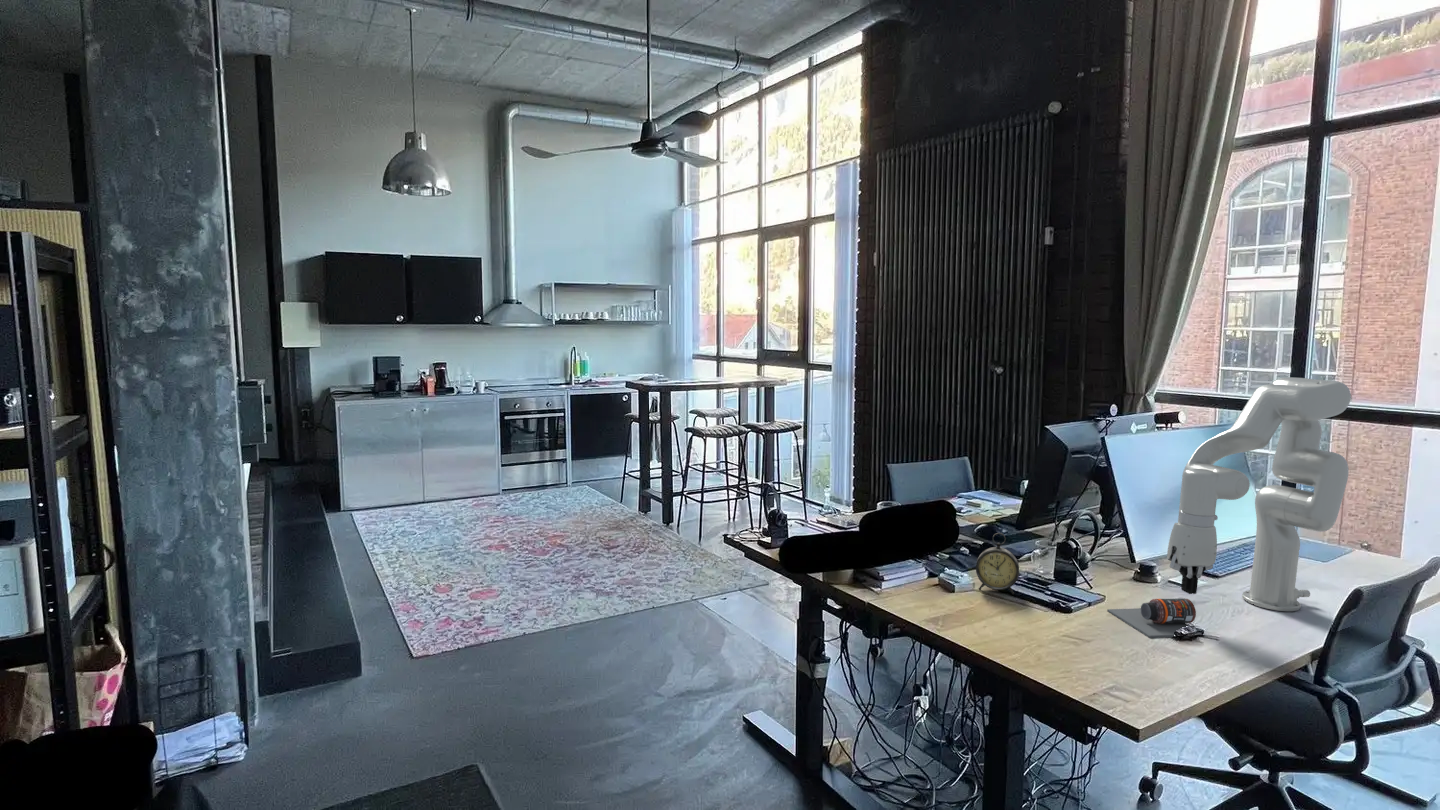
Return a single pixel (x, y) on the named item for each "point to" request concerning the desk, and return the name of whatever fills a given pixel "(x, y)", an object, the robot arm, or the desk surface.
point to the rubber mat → (1146, 623)
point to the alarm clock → (997, 568)
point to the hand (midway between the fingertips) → (1188, 591)
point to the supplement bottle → (1169, 611)
